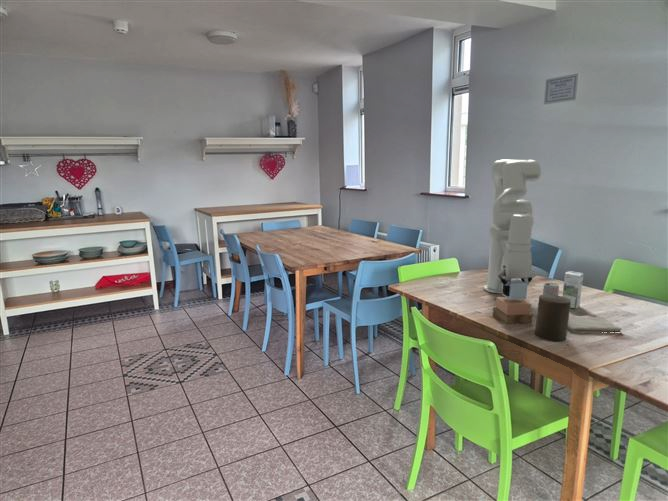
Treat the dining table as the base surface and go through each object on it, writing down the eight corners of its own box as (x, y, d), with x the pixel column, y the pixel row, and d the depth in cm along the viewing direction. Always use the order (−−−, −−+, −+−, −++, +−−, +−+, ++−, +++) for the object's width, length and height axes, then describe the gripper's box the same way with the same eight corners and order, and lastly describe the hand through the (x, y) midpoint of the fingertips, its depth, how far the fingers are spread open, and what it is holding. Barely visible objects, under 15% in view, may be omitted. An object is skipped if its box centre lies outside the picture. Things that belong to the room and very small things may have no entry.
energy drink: (543, 310, 172) (546, 281, 170) (557, 313, 168) (561, 284, 166) (538, 313, 169) (541, 284, 166) (553, 317, 165) (556, 287, 162)
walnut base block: (516, 315, 168) (517, 305, 167) (531, 324, 158) (532, 314, 157) (492, 316, 166) (493, 306, 165) (506, 326, 157) (507, 315, 156)
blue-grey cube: (516, 294, 164) (518, 279, 162) (526, 299, 158) (527, 283, 157) (502, 295, 163) (503, 279, 161) (511, 299, 157) (512, 284, 156)
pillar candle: (552, 344, 140) (557, 300, 137) (528, 333, 148) (533, 291, 146) (572, 339, 144) (578, 297, 141) (548, 329, 152) (553, 289, 149)
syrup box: (579, 306, 178) (584, 272, 175) (576, 309, 174) (580, 275, 171) (564, 303, 182) (568, 270, 179) (560, 306, 177) (564, 272, 174)
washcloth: (623, 335, 149) (624, 327, 148) (572, 334, 149) (573, 326, 148) (602, 322, 160) (604, 315, 160) (555, 322, 160) (555, 314, 160)
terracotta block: (517, 306, 166) (518, 296, 165) (530, 314, 157) (531, 304, 156) (495, 306, 165) (496, 297, 164) (506, 315, 156) (507, 304, 156)
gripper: (533, 245, 161) (529, 291, 165) (491, 246, 159) (487, 292, 162) (546, 249, 154) (541, 296, 158) (502, 250, 152) (498, 298, 155)
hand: (514, 294), depth 160 cm, fingers closed on blue-grey cube, 6 cm apart
